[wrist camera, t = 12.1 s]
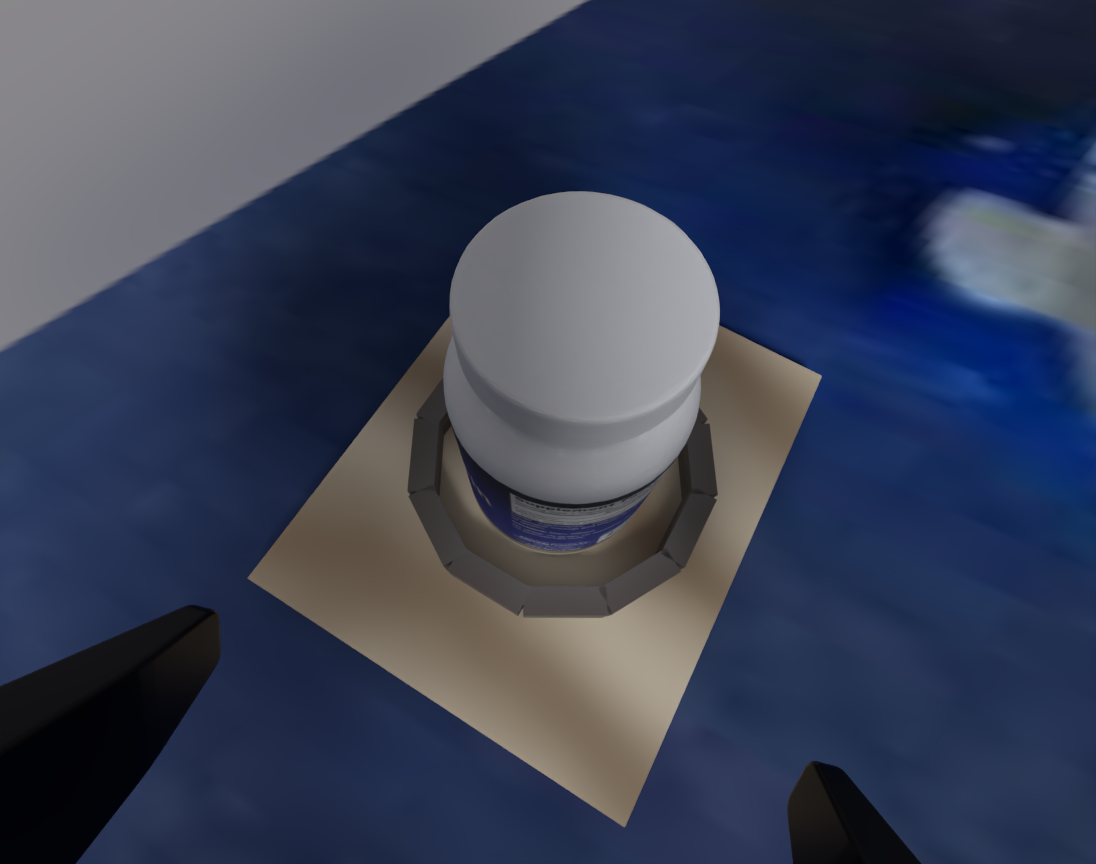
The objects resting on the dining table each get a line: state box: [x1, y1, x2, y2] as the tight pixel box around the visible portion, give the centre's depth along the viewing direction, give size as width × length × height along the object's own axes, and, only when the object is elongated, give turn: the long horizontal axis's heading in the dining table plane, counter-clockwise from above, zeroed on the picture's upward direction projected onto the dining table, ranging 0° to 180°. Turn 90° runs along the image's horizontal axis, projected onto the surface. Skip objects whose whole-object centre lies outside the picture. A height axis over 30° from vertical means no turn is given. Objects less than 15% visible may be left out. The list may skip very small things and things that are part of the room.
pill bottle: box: [443, 191, 720, 554], centre depth 14 cm, size 6×6×10 cm
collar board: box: [248, 316, 822, 827], centre depth 19 cm, size 16×13×2 cm
